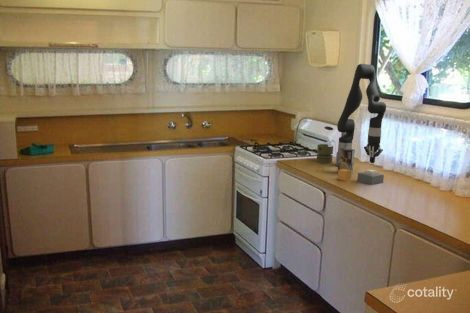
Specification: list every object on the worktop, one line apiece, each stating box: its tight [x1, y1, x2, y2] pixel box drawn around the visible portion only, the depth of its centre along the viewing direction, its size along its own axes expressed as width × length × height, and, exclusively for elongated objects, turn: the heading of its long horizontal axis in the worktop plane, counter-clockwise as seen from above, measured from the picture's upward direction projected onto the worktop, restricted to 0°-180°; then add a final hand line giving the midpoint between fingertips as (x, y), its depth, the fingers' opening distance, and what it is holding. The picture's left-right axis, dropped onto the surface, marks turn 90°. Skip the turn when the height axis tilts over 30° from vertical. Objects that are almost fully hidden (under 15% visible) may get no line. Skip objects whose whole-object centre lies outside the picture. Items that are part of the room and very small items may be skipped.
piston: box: [316, 143, 334, 164], centre depth 353 cm, size 11×12×11 cm
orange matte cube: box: [337, 169, 352, 182], centre depth 301 cm, size 6×6×6 cm
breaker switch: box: [365, 169, 377, 175], centre depth 297 cm, size 4×4×3 cm
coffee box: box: [337, 148, 355, 176], centre depth 317 cm, size 9×6×16 cm
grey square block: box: [356, 171, 385, 186], centre depth 298 cm, size 11×11×6 cm
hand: (372, 162), depth 296 cm, fingers closed
